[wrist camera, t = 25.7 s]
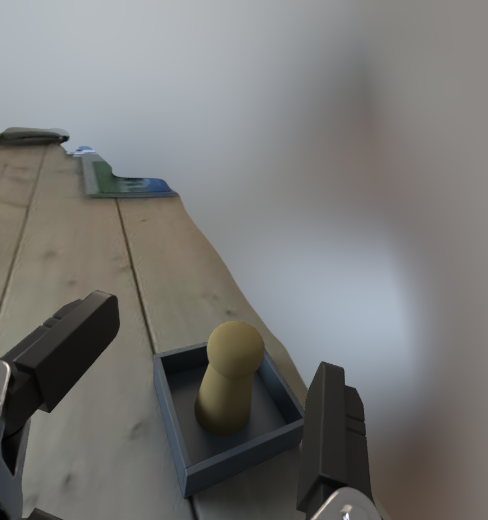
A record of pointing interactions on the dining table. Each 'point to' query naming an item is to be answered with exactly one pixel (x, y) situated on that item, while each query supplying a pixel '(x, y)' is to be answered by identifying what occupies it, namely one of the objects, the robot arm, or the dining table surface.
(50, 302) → the dining table surface
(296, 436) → the square tray
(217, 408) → the cork
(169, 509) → the dining table surface
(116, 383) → the dining table surface
